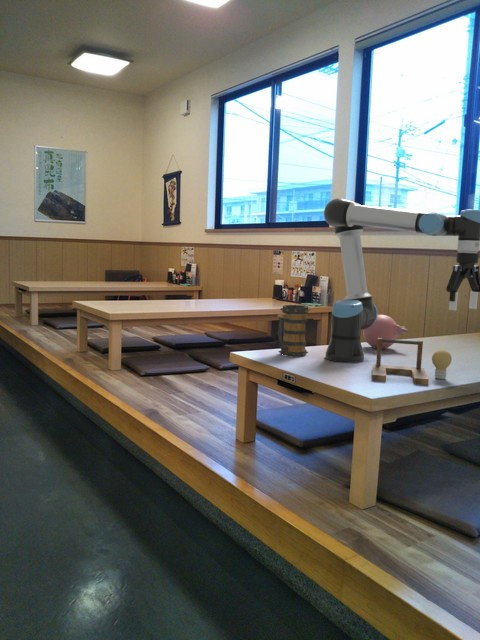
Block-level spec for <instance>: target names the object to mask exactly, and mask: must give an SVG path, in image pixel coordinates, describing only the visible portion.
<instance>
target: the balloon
mask: <svg viewBox="0 0 480 640" xmlns="http://www.w3.org/2000/svg"><path fill="white" fill-rule="evenodd" d="M408 332H409V329H407V328H406V326H404V325H402V326H400V325H399V324H397V322H396V321H395V320H394V319H393V318H392V317H390V316H389V315H386V314H378V316H377V320H376V322H375V323H374V324H373V325H372V326H370V327H369V328H367V329H362V334H363V335H362V336H363V338H364V340H365V342H366V343H367V344H368V346H370V347H372V348H375V349H377V344H378V338H382V339H390V340H398V337H399V336H401V335H402V336H403V335H404V334H405V333H408ZM394 344H395V343H385V342H382V350H383V349H387V348H389V347H392V346H393V345H394Z"/></svg>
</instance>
